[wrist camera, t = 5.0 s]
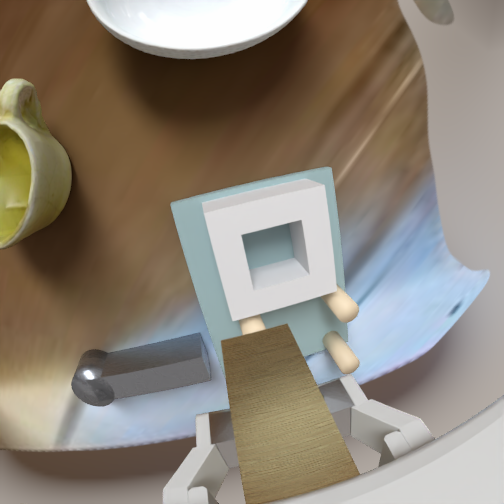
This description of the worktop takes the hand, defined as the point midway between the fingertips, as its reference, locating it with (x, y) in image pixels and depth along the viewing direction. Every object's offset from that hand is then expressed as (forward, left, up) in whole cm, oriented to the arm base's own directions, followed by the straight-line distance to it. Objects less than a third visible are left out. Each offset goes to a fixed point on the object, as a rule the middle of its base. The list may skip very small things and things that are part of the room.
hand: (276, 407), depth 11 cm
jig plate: (+4, -4, -19) cm, 19 cm away
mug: (-14, +13, -19) cm, 27 cm away
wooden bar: (0, 0, -3) cm, 3 cm away
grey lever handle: (-11, -9, -19) cm, 24 cm away
